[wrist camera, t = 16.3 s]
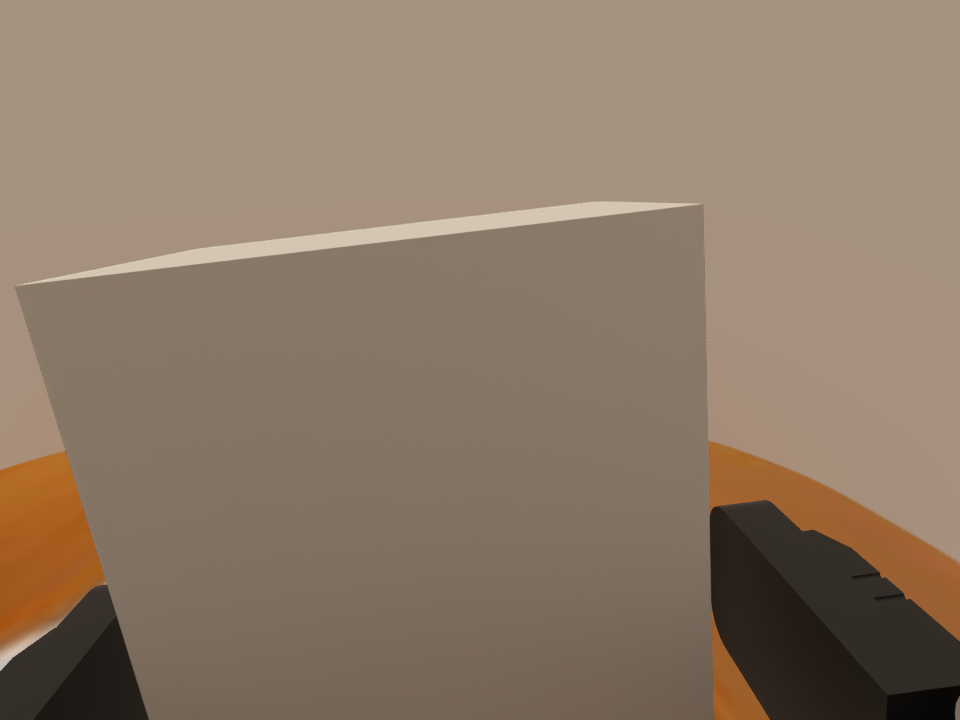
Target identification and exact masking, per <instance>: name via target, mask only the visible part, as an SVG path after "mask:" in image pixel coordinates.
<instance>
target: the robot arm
mask: <svg viewBox="0 0 960 720" xmlns="http://www.w3.org/2000/svg"><path fill="white" fill-rule="evenodd" d="M710 567H711V603H712V610H713V615H714V620H715V623H716V627H717V630H718V633H719V635H720V638H721V640H722V642H723V644H724V646H725V648H726V649H727V651H728V652H729V654H730V656H731V657H732V659H733V661H734V662H735V664H736V665H737V667H738V669H739V670H740V672H741V673H742V675H743V677H744V678H745V680H746V681H747V683H748V685H749V686H750V688H751V689H752V691H753V693H754V694H755V696H756V698H757V699H758V701H759V702H760V704H761V706H762V707H763V709H764V710H765V712H766V714H767V715H768V717H769V718H770V720H960V641H958V640H957V639H956V638H955V637H954V636H953V635H952V634H950V633H949V632H948V631H947V630H946V629H945V628H943V627H942V626H941V625H940V624H939V623H938V622H936V621H935V620H934V619H933V618H932V617H931V616H930V615H928V614H927V613H926V612H925V611H924V610H923V609H921V608H920V607H919V606H918V605H917V604H916V603H914V602H913V601H912V600H911V599H908V600H906V598H905V596H904V593H903V592H902V591H901V590H899V589H898V588H897V587H896V586H895V585H894V584H892V583H891V582H890V581H889V580H888V579H887V578H881V576H880V572H878V571H877V570H876V569H875V568H874V567H873V566H872V565H870V564H869V563H868V562H867V561H866V560H865V559H863V558H862V557H861V556H860V555H859V554H858V553H856V552H855V551H854V550H853V549H852V548H850V547H848V546H846V545H844V544H842V543H840V542H838V541H836V540H833V539H831V538H829V537H827V536H825V535H823V534H821V533H819V532H817V531H815V530H809V531H801V530H800V529H799V528H798V527H797V526H796V525H795V524H794V523H793V522H792V521H791V520H790V519H789V518H788V517H786V516H785V515H784V514H783V513H782V512H781V511H780V510H779V509H778V508H777V507H776V506H775V505H774V504H772V503H771V502H769V501H767V500H762V501H755V502H747V503H739V504H732V505H724V506H716V507H714V508H713V509H712V511H711V514H710ZM0 720H149V718H148V715H147V712H146V709H145V706H144V702H143V699H142V696H141V693H140V689H139V686H138V683H137V680H136V676H135V673H134V670H133V667H132V664H131V660H130V657H129V654H128V651H127V647H126V644H125V641H124V638H123V634H122V631H121V628H120V625H119V622H118V618H117V615H116V612H115V609H114V605H113V602H112V599H111V596H110V592H109V589H108V586H107V585H100V586H97V587H95V588H93V589H92V590H90V591H89V592H88V593H87V594H86V596H85V597H84V598H83V599H82V600H81V601H80V602H79V603H78V604H77V605H76V607H75V608H74V609H73V610H72V611H71V612H70V613H69V614H68V615H67V616H66V617H65V619H64V620H63V621H62V622H61V623H60V624H59V625H58V626H57V627H56V628H54V629H53V630H51V631H50V632H48V633H47V634H46V635H44V636H43V637H41V638H40V639H39V640H37V641H36V642H34V643H33V644H32V645H30V646H29V647H27V648H26V649H25V650H23V651H22V652H20V653H19V654H17V655H16V656H15V657H13V658H12V659H11V660H10V662H9V663H8V664H7V665H6V666H5V667H4V668H3V669H2V670H1V671H0Z"/></svg>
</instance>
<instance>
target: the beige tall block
mask: <svg viewBox="0 0 960 720" xmlns="http://www.w3.org/2000/svg"><path fill="white" fill-rule="evenodd" d="M703 212H704V209H703V204H684V203H643V202H641V203H640V202H600V201H599V202H598V201H596V202H588V203H579V204H571V205H563V206H555V207H546V208H537V209H529V210H520V211H512V212H503V213H495V214H487V215H478V216H469V217H461V218H453V219H444V220H436V221H427V222H419V223H410V224H402V225H393V226H385V227H377V228H368V229H360V230H351V231H343V232H334V233H326V234H317V235H309V236H301V237H292V238H284V239H275V240H267V241H259V242H250V243H241V244H233V245H225V246H216V247H208V248H199V249H193V250H188V251H184V252H179V253H174V254H169V255H164V256H159V257H154V258H149V259H145V260H139V261H134V262H129V263H125V264H120V265H115V266H110V267H105V268H100V269H95V270H90V271H86V272H80V273H75V274H70V275H66V276H61V277H56V278H51V279H46V280H41V281H36V282H31V283H26V284H21V285H17V286H15V289H16V292H17V295H18V298H19V302H20V305H21V308H22V311H23V315H24V317H25V321H26V324H27V327H28V331H29V334H30V337H31V341H32V344H33V347H34V350H35V353H36V356H37V360H38V363H39V366H40V369H41V373H42V376H43V379H44V383H45V385H46V389H47V392H48V395H49V399H50V402H51V405H52V408H53V412H54V415H55V418H56V421H57V424H58V428H59V431H60V434H61V437H62V441H63V444H64V447H65V450H66V454H67V457H68V460H69V463H70V466H71V470H72V473H73V476H74V479H75V483H76V486H77V489H78V492H79V496H80V499H81V502H82V505H83V508H84V512H85V515H86V518H87V521H88V525H89V528H90V531H91V534H92V538H93V541H94V544H95V547H96V550H97V554H98V557H99V560H100V563H101V567H102V570H103V573H104V576H105V580H106V583H107V586H108V589H109V592H110V596H111V599H112V602H113V605H114V609H115V612H116V615H117V618H118V622H119V625H120V628H121V631H122V634H123V638H124V641H125V644H126V647H127V651H128V654H129V657H130V660H131V664H132V667H133V670H134V673H135V676H136V680H137V683H138V686H139V689H140V693H141V696H142V699H143V702H144V706H145V709H146V712H147V715H148V718H149V720H713V669H712V618H711V567H710V516H709V465H708V417H707V416H708V413H707V365H706V364H707V363H706V314H705V313H706V311H705V265H704V264H705V260H704V213H703Z"/></svg>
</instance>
